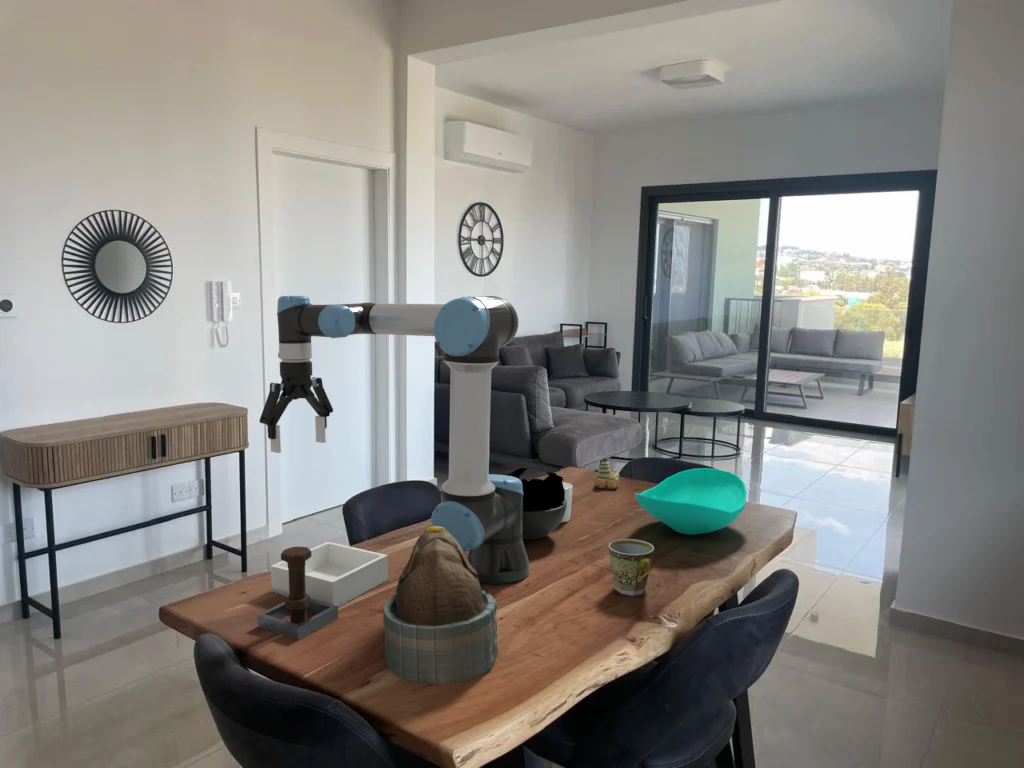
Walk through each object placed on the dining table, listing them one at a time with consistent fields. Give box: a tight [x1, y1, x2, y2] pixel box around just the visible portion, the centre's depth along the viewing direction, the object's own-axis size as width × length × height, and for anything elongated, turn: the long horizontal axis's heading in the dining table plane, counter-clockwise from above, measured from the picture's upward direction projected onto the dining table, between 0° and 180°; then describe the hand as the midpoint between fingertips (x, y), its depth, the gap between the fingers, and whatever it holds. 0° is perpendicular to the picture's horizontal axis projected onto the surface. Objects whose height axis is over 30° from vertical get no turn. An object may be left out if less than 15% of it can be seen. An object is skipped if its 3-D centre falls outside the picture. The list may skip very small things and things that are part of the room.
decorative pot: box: [382, 526, 499, 685], centre depth 141 cm, size 23×25×22 cm
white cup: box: [560, 481, 573, 524], centre depth 219 cm, size 8×8×10 cm
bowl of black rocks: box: [505, 467, 567, 540], centre depth 203 cm, size 20×20×19 cm
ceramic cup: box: [608, 538, 655, 597], centre depth 168 cm, size 13×10×10 cm
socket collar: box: [256, 599, 339, 641], centre depth 153 cm, size 11×11×2 cm
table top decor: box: [634, 467, 748, 536], centre depth 209 cm, size 40×28×13 cm
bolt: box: [280, 546, 311, 624], centre depth 152 cm, size 6×5×15 cm
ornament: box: [594, 457, 620, 490], centre depth 253 cm, size 8×6×10 cm
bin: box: [270, 541, 389, 608], centre depth 171 cm, size 18×18×6 cm
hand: (299, 447), depth 186 cm, fingers open, 13 cm apart
